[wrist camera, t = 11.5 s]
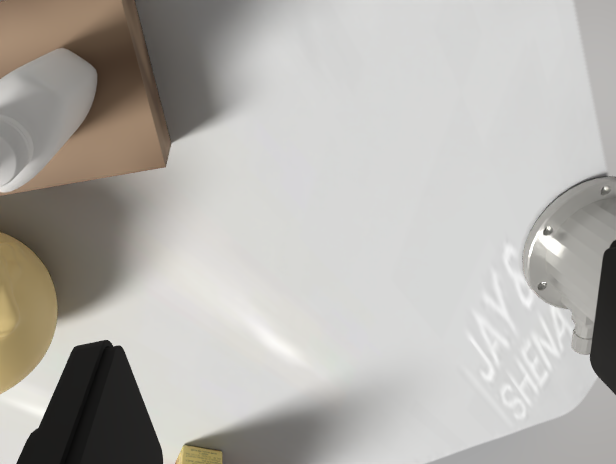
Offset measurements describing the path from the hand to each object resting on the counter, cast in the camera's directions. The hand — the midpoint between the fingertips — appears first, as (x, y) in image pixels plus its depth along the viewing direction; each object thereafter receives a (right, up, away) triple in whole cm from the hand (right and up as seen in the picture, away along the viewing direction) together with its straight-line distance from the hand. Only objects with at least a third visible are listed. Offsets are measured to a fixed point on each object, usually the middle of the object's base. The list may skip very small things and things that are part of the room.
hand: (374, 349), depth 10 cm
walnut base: (-16, +12, +23) cm, 30 cm away
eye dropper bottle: (-15, +10, +19) cm, 26 cm away
